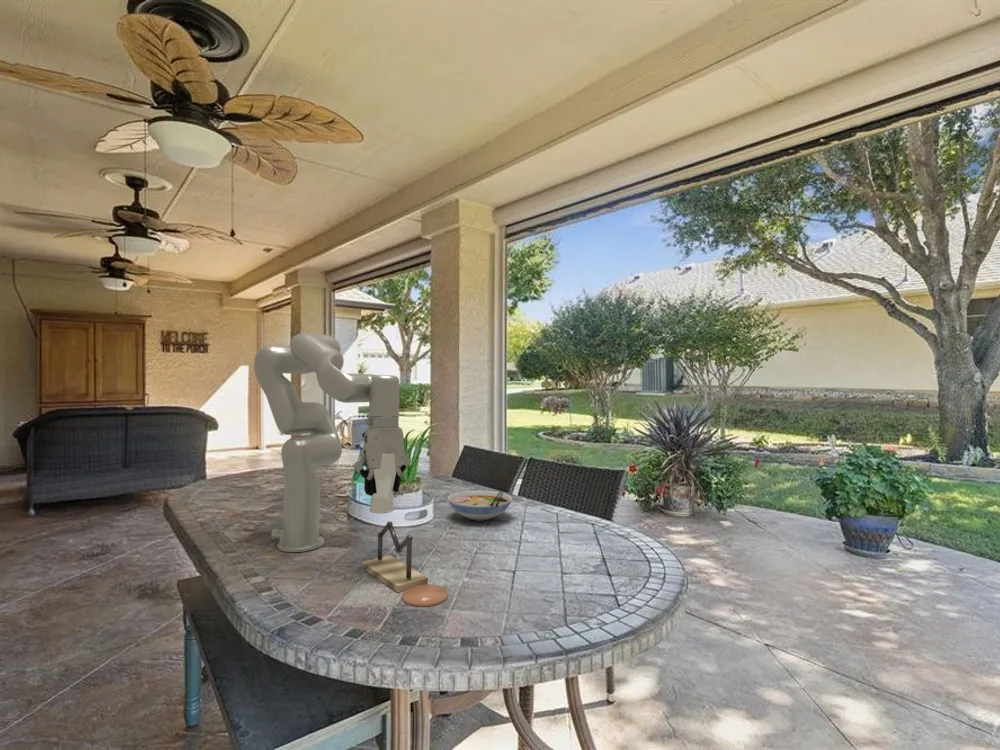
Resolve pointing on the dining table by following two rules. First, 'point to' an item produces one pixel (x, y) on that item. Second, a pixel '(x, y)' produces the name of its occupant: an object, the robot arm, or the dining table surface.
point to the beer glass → (384, 485)
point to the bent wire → (396, 546)
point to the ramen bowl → (479, 504)
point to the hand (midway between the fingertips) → (382, 492)
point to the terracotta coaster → (425, 595)
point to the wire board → (394, 573)
